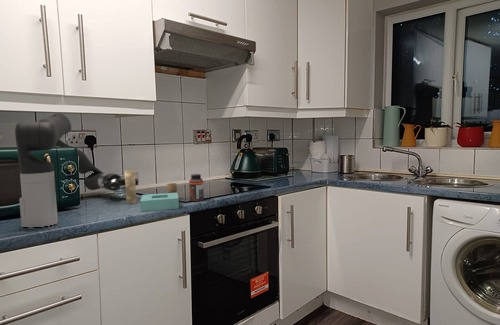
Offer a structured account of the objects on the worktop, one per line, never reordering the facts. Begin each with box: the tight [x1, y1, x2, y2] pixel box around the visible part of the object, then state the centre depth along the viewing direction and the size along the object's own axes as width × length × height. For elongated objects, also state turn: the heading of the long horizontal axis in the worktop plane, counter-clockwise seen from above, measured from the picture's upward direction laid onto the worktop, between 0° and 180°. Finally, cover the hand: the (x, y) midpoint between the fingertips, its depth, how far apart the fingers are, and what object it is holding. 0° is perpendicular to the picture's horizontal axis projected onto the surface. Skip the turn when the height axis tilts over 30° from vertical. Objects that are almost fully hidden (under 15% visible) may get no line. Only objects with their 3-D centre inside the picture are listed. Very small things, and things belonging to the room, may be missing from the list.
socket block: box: [139, 192, 180, 212], centre depth 132 cm, size 14×14×4 cm
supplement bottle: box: [188, 173, 205, 203], centre depth 142 cm, size 6×6×11 cm
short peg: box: [166, 182, 178, 193], centre depth 146 cm, size 4×4×7 cm
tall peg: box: [124, 169, 137, 205], centre depth 141 cm, size 4×4×14 cm
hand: (128, 184), depth 142 cm, fingers open, 8 cm apart
